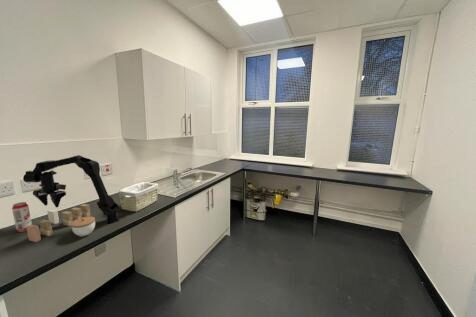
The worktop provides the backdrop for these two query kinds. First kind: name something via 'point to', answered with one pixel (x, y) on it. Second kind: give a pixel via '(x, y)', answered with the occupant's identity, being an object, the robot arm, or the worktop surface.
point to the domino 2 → (53, 216)
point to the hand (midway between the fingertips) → (51, 206)
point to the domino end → (33, 233)
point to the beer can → (21, 216)
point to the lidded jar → (83, 226)
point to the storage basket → (138, 196)
